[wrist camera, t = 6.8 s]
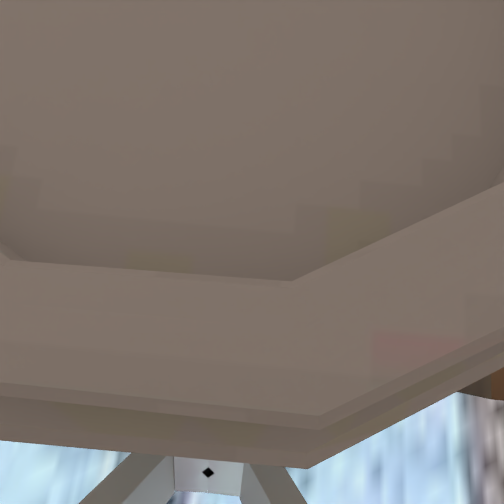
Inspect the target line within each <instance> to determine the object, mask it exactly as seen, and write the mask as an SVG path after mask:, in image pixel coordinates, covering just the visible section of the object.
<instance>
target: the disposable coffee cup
mask: <svg viewBox="0 0 504 504" xmlns="http://www.w3.org/2000/svg"><path fill="white" fill-rule="evenodd" d="M503 367H504V0H0V440H2V441H13V442H24V443H34V444H45V445H56V446H66V447H77V448H88V449H98V450H109V451H120V452H131V453H141V454H152V455H163V456H173V457H184V458H195V459H205V460H216V461H227V462H237V463H248V464H259V465H269V466H280V467H291V468H301V469H309V468H311V467H313V466H315V465H316V464H318V463H320V462H322V461H324V460H326V459H328V458H330V457H332V456H334V455H336V454H338V453H340V452H341V451H343V450H345V449H347V448H349V447H351V446H353V445H355V444H357V443H359V442H361V441H363V440H365V439H366V438H368V437H370V436H372V435H374V434H376V433H378V432H380V431H382V430H384V429H386V428H388V427H390V426H391V425H393V424H395V423H397V422H399V421H401V420H403V419H405V418H407V417H409V416H411V415H413V414H415V413H416V412H418V411H420V410H422V409H424V408H426V407H428V406H430V405H432V404H434V403H436V402H438V401H440V400H441V399H443V398H445V397H447V396H449V395H451V394H453V393H455V392H457V391H459V390H461V389H463V388H465V387H466V386H468V385H470V384H472V383H474V382H476V381H478V380H480V379H482V378H484V377H486V376H488V375H490V374H491V373H493V372H495V371H497V370H499V369H501V368H503Z"/></svg>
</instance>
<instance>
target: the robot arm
mask: <svg viewBox="0 0 504 504" xmlns="http://www.w3.org/2000/svg"><path fill="white" fill-rule="evenodd" d="M207 490H208V493H215V494H223V495H232V496H240V500H241V502H242V504H307V502H306V501H305V499H304V498H303V496H302V494H301V493H300V491H299V490H298V488H297V486H296V485H295V483H294V482H293V480H292V478H291V477H290V475H289V474H288V472H287V470H286V469H285V467H280V466H269V465H259V464H248V463H237V462H227V461H216V460H205V459H195V458H184V457H173V456H163V455H152V454H141V453H131V454H130V455H129V456H128V457H127V458H126V459H125V460H124V461H122V462H121V463H120V464H119V465H118V466H117V467H116V468H115V469H114V470H113V471H112V472H111V473H110V474H109V475H108V476H107V477H106V478H105V479H104V480H103V481H102V482H101V483H99V484H98V485H97V486H96V487H95V488H94V489H93V490H92V491H91V492H90V493H89V494H88V495H87V496H86V497H85V498H84V499H83V500H82V501H81V502H80V503H79V504H166V503H167V502H168V500H169V499H170V498H171V497H172V495H173V494H174V491H189V492H205V493H207Z"/></svg>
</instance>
